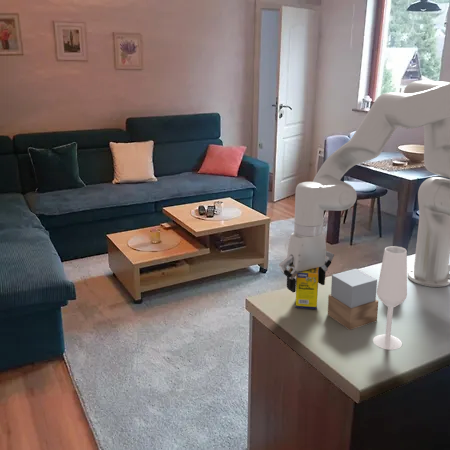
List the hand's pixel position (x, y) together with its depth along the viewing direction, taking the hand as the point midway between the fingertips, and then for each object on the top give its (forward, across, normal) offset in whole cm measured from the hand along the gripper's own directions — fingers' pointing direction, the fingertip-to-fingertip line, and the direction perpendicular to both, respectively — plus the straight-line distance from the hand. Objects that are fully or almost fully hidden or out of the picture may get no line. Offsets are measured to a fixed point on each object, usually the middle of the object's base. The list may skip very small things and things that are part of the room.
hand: (305, 286), depth 136 cm
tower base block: (+5, -6, +12) cm, 15 cm away
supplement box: (+6, 0, 0) cm, 6 cm away
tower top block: (-1, -6, +12) cm, 14 cm away
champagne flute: (+5, -6, +25) cm, 27 cm away
